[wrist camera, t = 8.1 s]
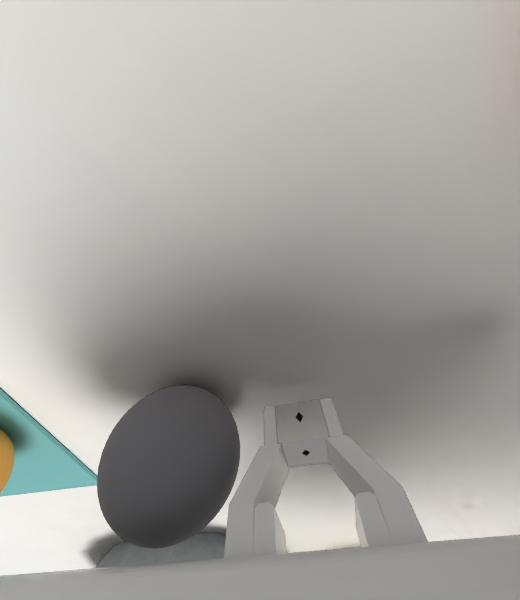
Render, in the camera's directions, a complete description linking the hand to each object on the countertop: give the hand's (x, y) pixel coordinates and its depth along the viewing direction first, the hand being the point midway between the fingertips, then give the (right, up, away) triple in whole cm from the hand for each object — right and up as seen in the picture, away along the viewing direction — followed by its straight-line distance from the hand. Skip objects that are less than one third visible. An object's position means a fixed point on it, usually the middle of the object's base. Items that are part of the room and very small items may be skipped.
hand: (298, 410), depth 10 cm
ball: (-5, -2, 0) cm, 6 cm away
